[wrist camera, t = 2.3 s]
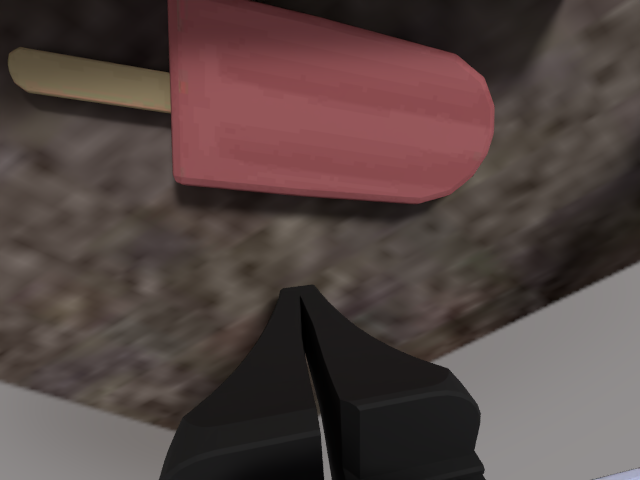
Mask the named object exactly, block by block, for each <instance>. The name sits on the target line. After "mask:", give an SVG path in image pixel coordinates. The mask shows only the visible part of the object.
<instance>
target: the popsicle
mask: <svg viewBox="0 0 640 480" xmlns="http://www.w3.org/2000/svg"><path fill="white" fill-rule="evenodd" d="M167 4H168V36H169V68H170V73H168V72H162V71H156V70H151V69H145V68H139V67H133V66H127V65H122V64H116V63H110V62H104V61H98V60H93V59H87V58H81V57H75V56H69V55H64V54H58V53H52V52H46V51H41V50H35V49H29V48H23V47H19V48H17V49H15V50H13V51H12V52H10V53H9V57H8V67H9V72H10V74H11V76H12V78H13V80H14V82H15V84H17V85H18V86H19V87H21V88H22V89H24V90H25V91H26V92H28V93H34V94H41V95H48V96H55V97H62V98H68V99H75V100H82V101H89V102H96V103H102V104H109V105H116V106H123V107H130V108H137V109H143V110H150V111H157V112H164V113H171V131H172V163H173V176H174V178H175V180H176V182H178V183H180V184H182V185H188V186H198V187H209V188H219V189H230V190H240V191H251V192H261V193H272V194H282V195H292V196H304V197H318V198H333V199H347V200H361V201H375V202H389V203H404V204H419V203H423V202H426V201H430V200H433V199H437V198H440V197H444V196H448V195H450V194H451V193H453V192H454V191H455V190H456V189H458V188H459V187H460V186H461V185H463V184H464V183H465V182H466V181H468V180H469V179H470V178H471V177H472V176H473V175H474V173H475V172H476V170H477V169H478V167H479V166H480V164H481V163H482V161H483V160H484V158H485V157H486V155H487V153H488V150H489V147H490V143H491V140H492V137H493V134H494V107H495V106H494V103H493V101H492V98H491V95H490V92H489V89H488V87H487V84H486V81H485V78H484V77H483V76H482V75H480V74H479V73H478V72H477V71H476V70H475V69H473V68H472V67H471V66H470V65H469V64H467V63H466V62H465V61H464V60H463V59H461V58H460V57H459V56H458V55H456V54H455V53H451V52H447V51H444V50H440V49H436V48H433V47H429V46H425V45H422V44H418V43H414V42H410V41H407V40H403V39H399V38H396V37H392V36H388V35H385V34H381V33H377V32H374V31H370V30H366V29H362V28H359V27H355V26H351V25H348V24H344V23H340V22H337V21H333V20H329V19H326V18H322V17H318V16H314V15H310V14H305V13H301V12H297V11H293V10H289V9H284V8H280V7H276V6H272V5H268V4H264V3H259V2H255V1H251V0H167Z"/></svg>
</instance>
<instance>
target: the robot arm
mask: <svg viewBox="0 0 640 480" xmlns="http://www.w3.org/2000/svg"><path fill="white" fill-rule="evenodd" d="M305 353H306V357H307V361H308V365H309V369H310V372H311V376H312V380H313V384H314V387H315V391H316V395H317V399H318V402H319V407H320V412H321V417H322V423H323V429H324V433H325V440H326V446H327V453H328V458H329V464H330V470H331V477H332V480H486V479H485V478H484V476H483V475H482V474H484V470H485V469H484V466H483V464H482V462H481V461H480V460H479V458H478V456H477V454H476V453H475V451H474V449H475V444H476V440H477V435H478V430H479V426H480V415H481V413H480V410H479V407H478V405H477V403H476V402H475V400H474V399H473V398H472V396H471V395H470V394H469V393H468V391H467V390H466V389H465V387H464V386H463V385H462V383H461V382H460V381H459V380H458V379H457V378H456V377H455V376H454V375H453V373H452V372H451V371H450V370H449V369H448V368H445V367H442V366H439V365H436V364H433V363H430V362H427V361H424V360H421V359H418V358H416V357H413V356H411V355H408V354H406V353H404V352H401V351H399V350H397V349H395V348H393V347H390V346H388V345H387V344H385V343H383V342H381V341H379V340H377V339H375V338H374V337H372V336H370V335H369V334H367V333H366V332H364V331H363V330H361V329H360V328H358V327H357V326H355V325H354V324H353V323H351V322H350V321H349V320H348V319H347V318H345V317H344V316H343V315H342V314H341V313H340V312H339V311H338V310H337V309H335V308H334V307H333V306H332V305H331V304H330V303H329V302H328V301H327V300H326V298H325V297H324V296H323V295H322V294H321V293H320V292H319V290H318V289H317V288H316V287H315V286H314V285H306V286H298V287H291V288H283V289H282V290H281V291H280V294H279V298H278V301H277V304H276V307H275V309H274V311H273V314H272V316H271V318H270V320H269V322H268V324H267V326H266V327H265V329H264V331H263V333H262V335H261V336H260V338H259V339H258V341H257V343H256V344H255V346H254V347H253V348H252V350H251V351H250V353H249V354H248V355H247V356H246V358H245V359H244V360H243V361H242V363H241V364H240V365H239V366H238V367H237V369H236V370H235V371H234V372H233V373H232V374H231V375H230V376H229V377H228V378H227V379H226V380H225V381H224V382H223V383H222V384H221V385H220V386H219V387H218V388H217V389H216V390H215V391H214V392H213V393H212V394H211V395H210V396H208V397H207V398H206V399H205V400H204V401H202V402H201V403H200V404H199V405H198V406H196V407H195V408H194V409H193V410H192V411H190V412H189V413H188V414H187V415H185V416H184V417H183V418H182V420H181V422H180V425H179V427H178V429H177V431H176V433H175V436H174V438H173V440H172V443H171V445H170V447H169V450H168V452H167V456H166V458H165V461H164V464H163V468H162V472H161V475H160V478H159V480H324V473H323V460H322V446H321V434H320V428H319V421H318V415H317V409H316V405H315V401H314V396H313V392H312V387H311V383H310V379H309V374H308V369H307V364H306V359H305ZM592 480H640V468H636V469H632V470H628V471H624V472H620V473H616V474H613V475H608V476H604V477H600V478H596V479H592Z"/></svg>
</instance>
